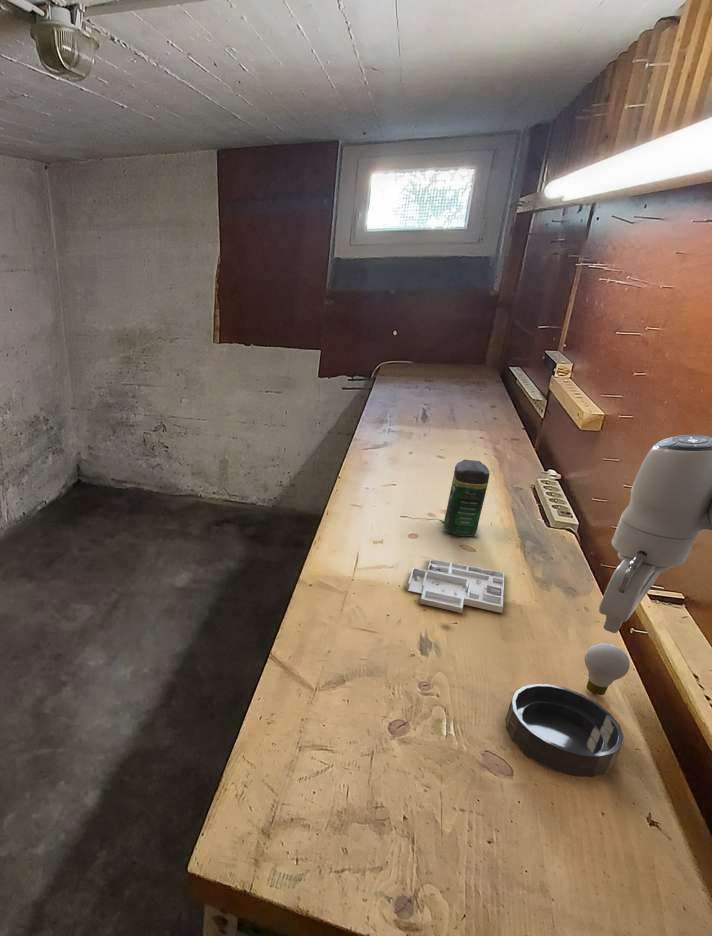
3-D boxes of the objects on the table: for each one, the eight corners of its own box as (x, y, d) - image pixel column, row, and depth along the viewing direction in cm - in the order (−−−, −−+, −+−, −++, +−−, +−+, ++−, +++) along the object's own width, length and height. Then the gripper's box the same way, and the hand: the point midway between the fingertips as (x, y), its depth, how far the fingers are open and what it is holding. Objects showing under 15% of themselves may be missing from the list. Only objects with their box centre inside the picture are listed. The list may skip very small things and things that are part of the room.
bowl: (558, 699, 95) (566, 676, 93) (637, 768, 83) (648, 744, 80) (484, 715, 93) (491, 692, 90) (554, 789, 80) (564, 765, 78)
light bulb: (581, 703, 94) (599, 657, 90) (568, 678, 99) (584, 633, 95) (621, 708, 93) (642, 661, 88) (606, 683, 98) (624, 638, 93)
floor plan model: (399, 615, 117) (401, 608, 116) (415, 559, 137) (417, 552, 136) (501, 640, 109) (504, 632, 108) (503, 576, 128) (505, 569, 127)
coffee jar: (478, 539, 144) (493, 472, 136) (444, 535, 146) (457, 469, 138) (474, 522, 152) (488, 458, 144) (442, 519, 155) (454, 456, 146)
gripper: (659, 576, 75) (624, 656, 81) (694, 526, 87) (661, 600, 93) (603, 558, 79) (574, 635, 86) (644, 513, 91) (616, 584, 97)
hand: (620, 616), depth 89 cm, fingers open, 8 cm apart
